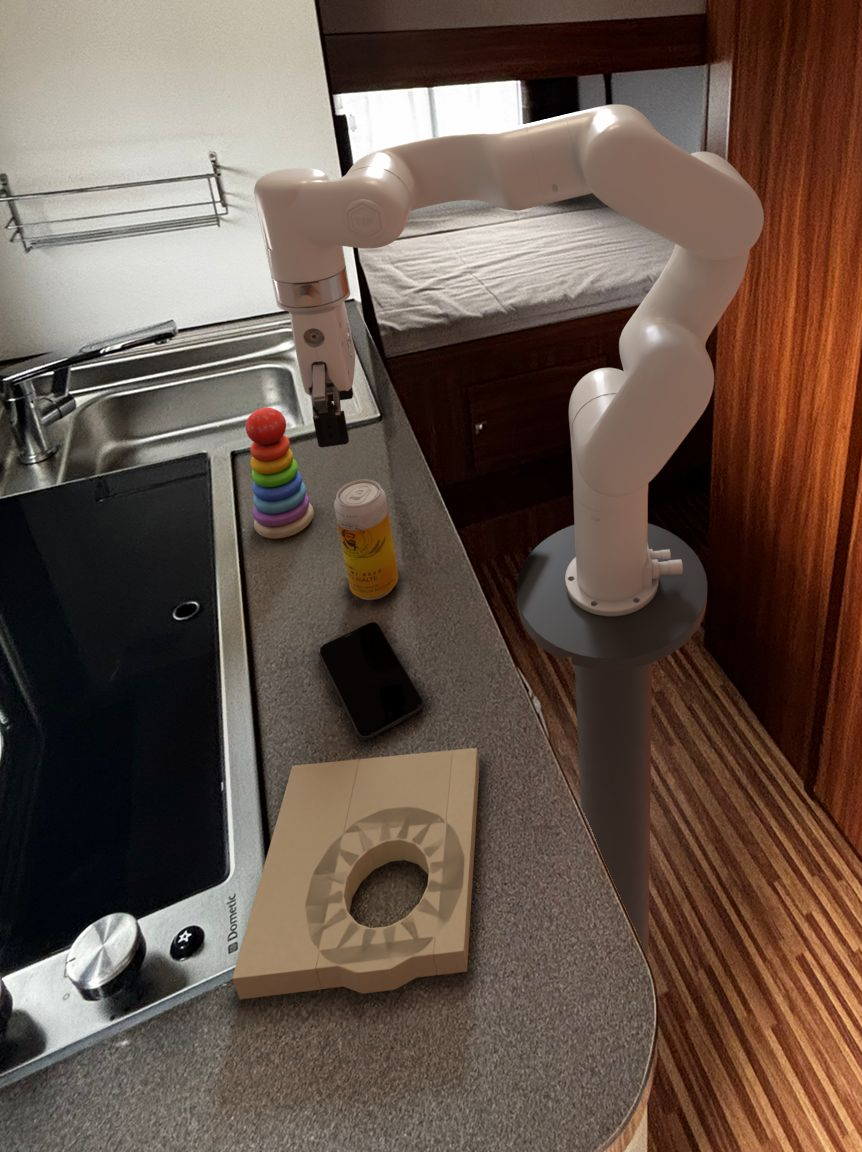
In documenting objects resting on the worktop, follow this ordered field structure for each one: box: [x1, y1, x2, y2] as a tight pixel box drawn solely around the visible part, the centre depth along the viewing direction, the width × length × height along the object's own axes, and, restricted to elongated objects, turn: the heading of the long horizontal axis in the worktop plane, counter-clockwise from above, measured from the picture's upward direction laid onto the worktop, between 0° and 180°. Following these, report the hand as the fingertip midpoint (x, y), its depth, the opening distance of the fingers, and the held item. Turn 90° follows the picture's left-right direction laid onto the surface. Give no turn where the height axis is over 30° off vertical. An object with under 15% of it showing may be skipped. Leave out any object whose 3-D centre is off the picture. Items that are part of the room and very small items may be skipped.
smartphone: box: [318, 621, 425, 741], centre depth 92 cm, size 7×1×15 cm
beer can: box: [333, 478, 399, 601], centre depth 103 cm, size 6×6×15 cm
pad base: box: [231, 747, 480, 1000], centre depth 73 cm, size 18×19×3 cm
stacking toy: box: [245, 407, 315, 540], centre depth 113 cm, size 8×8×19 cm
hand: (337, 420), depth 94 cm, fingers open, 9 cm apart
